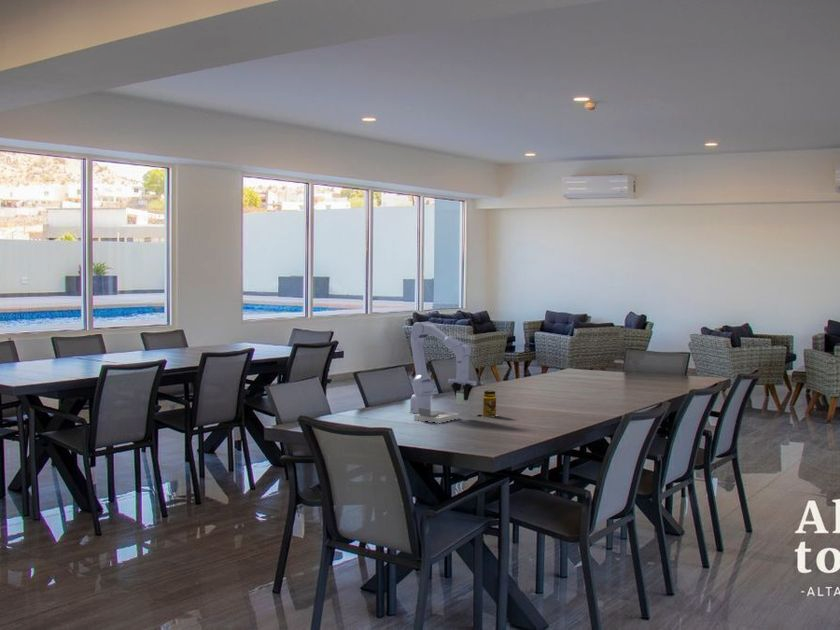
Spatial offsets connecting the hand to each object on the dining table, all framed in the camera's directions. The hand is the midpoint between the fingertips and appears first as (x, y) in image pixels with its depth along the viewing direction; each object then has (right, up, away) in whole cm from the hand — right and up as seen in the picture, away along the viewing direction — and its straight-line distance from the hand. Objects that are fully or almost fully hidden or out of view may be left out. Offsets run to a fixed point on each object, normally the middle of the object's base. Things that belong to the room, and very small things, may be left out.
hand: (461, 399), depth 392 cm
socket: (-12, -9, -3) cm, 15 cm away
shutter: (-16, -6, -8) cm, 19 cm away
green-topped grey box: (0, -2, 0) cm, 2 cm away
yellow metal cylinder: (+13, -9, +9) cm, 18 cm away
